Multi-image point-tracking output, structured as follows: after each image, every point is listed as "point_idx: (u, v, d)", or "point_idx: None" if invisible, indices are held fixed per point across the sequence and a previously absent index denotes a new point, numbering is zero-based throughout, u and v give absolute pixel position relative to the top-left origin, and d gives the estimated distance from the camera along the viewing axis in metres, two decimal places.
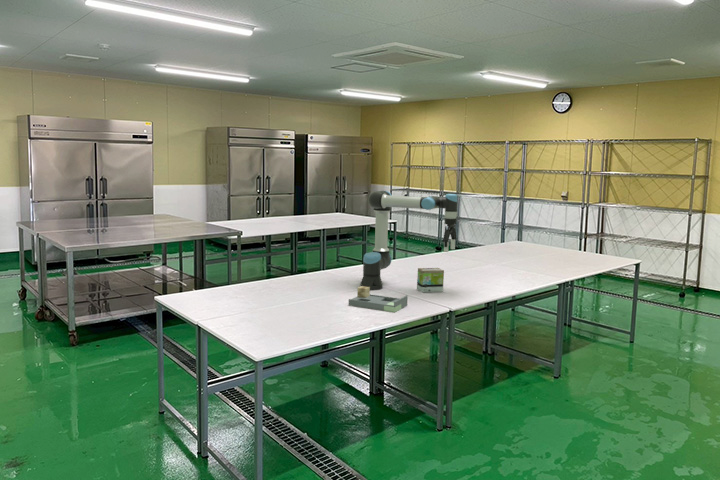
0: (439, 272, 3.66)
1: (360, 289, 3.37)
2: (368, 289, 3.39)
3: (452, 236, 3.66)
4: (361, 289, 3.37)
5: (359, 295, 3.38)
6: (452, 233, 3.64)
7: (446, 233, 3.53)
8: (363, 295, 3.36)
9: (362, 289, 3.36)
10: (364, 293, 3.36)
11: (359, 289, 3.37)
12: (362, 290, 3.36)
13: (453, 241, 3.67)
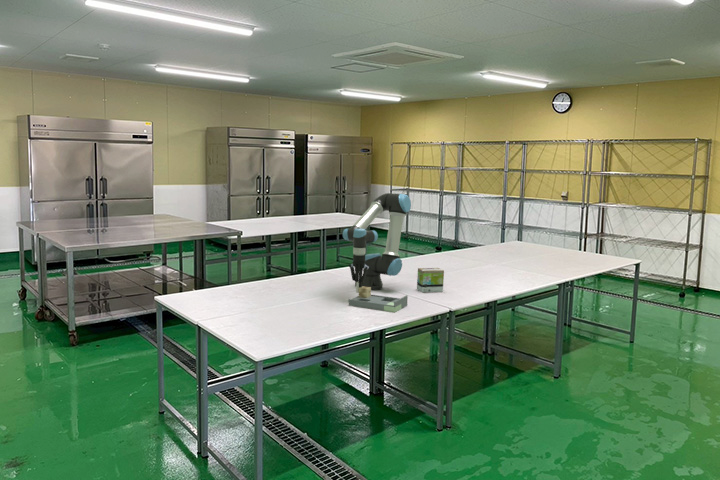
0: (439, 272, 3.66)
1: (361, 289, 3.36)
2: (369, 289, 3.38)
3: None
4: (362, 289, 3.36)
5: (360, 295, 3.37)
6: None
7: None
8: (364, 295, 3.36)
9: (363, 289, 3.36)
10: (365, 293, 3.35)
11: (360, 289, 3.37)
12: (363, 291, 3.36)
13: None
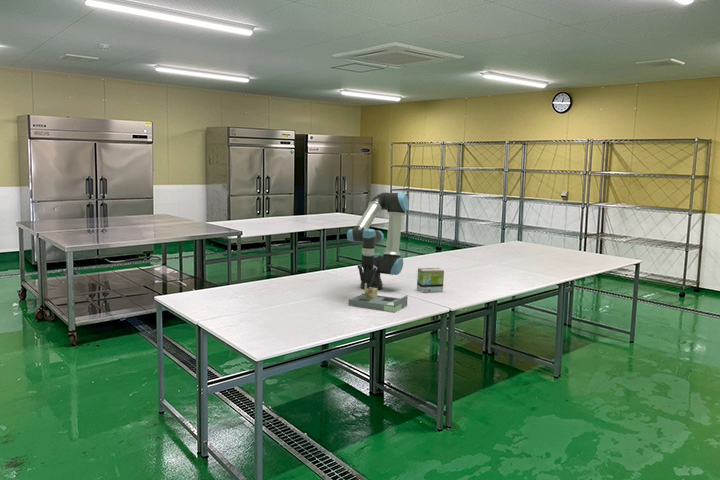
0: (439, 272, 3.66)
1: (368, 290, 3.34)
2: (376, 290, 3.36)
3: None
4: (369, 290, 3.34)
5: (367, 296, 3.35)
6: None
7: None
8: (371, 296, 3.34)
9: (370, 290, 3.34)
10: (372, 294, 3.33)
11: (367, 290, 3.35)
12: (370, 292, 3.34)
13: None
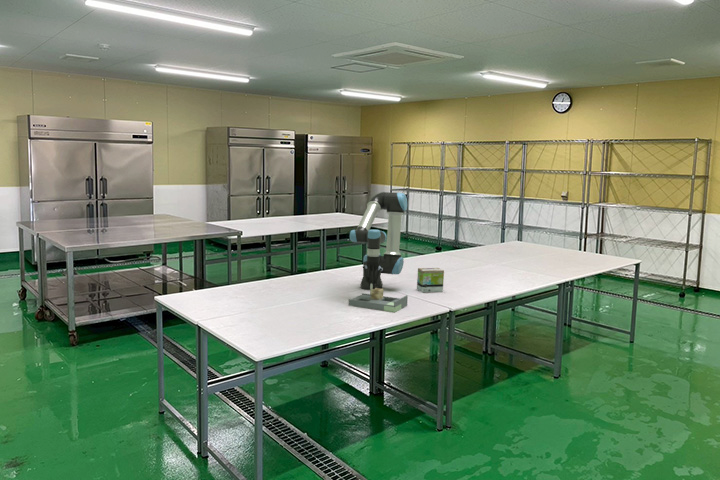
0: (439, 272, 3.66)
1: (374, 291, 3.33)
2: (382, 291, 3.34)
3: None
4: (375, 291, 3.32)
5: (373, 297, 3.33)
6: None
7: None
8: (377, 297, 3.32)
9: (376, 291, 3.32)
10: (378, 295, 3.32)
11: (373, 291, 3.33)
12: (376, 292, 3.32)
13: None
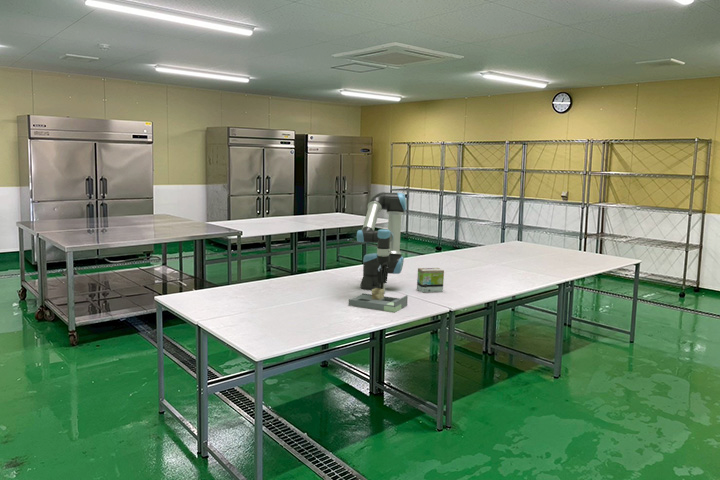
0: (439, 272, 3.66)
1: (374, 291, 3.33)
2: (382, 291, 3.34)
3: None
4: (375, 291, 3.32)
5: (373, 297, 3.33)
6: None
7: (379, 275, 3.33)
8: (377, 297, 3.32)
9: (376, 291, 3.32)
10: (378, 295, 3.32)
11: (373, 291, 3.33)
12: (376, 292, 3.32)
13: None
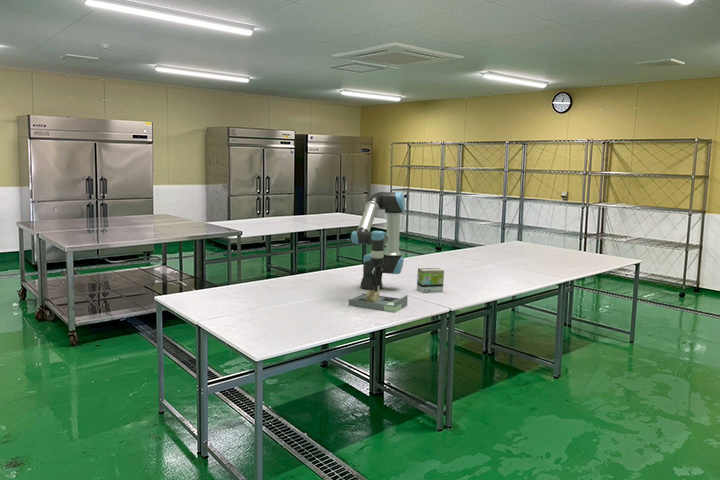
0: (439, 272, 3.66)
1: (369, 293, 3.26)
2: (377, 293, 3.28)
3: None
4: (370, 293, 3.26)
5: (368, 300, 3.27)
6: None
7: (374, 278, 3.25)
8: (372, 300, 3.26)
9: (371, 293, 3.26)
10: (373, 298, 3.25)
11: (368, 293, 3.27)
12: (371, 295, 3.26)
13: None
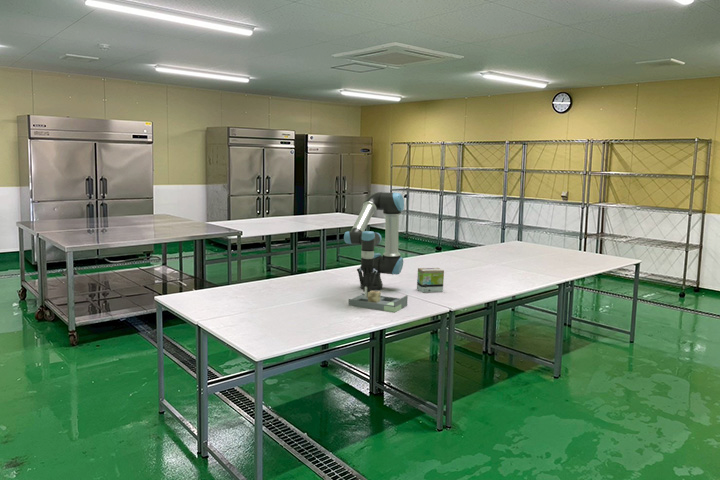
0: (439, 272, 3.66)
1: (371, 294, 3.26)
2: (379, 294, 3.27)
3: None
4: (372, 294, 3.25)
5: (370, 300, 3.26)
6: None
7: None
8: (374, 300, 3.25)
9: (373, 294, 3.25)
10: (375, 298, 3.25)
11: (370, 294, 3.26)
12: (373, 295, 3.25)
13: None
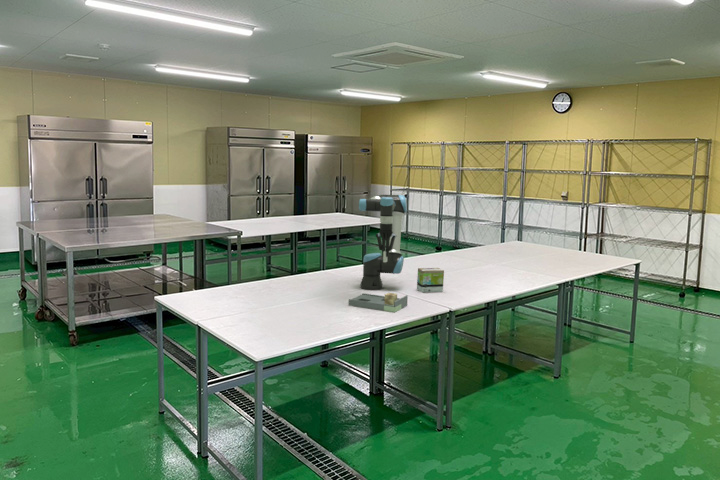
0: (439, 272, 3.66)
1: (387, 296, 3.21)
2: (396, 296, 3.23)
3: None
4: (388, 296, 3.21)
5: (386, 302, 3.22)
6: None
7: None
8: (390, 302, 3.20)
9: (389, 296, 3.20)
10: (392, 300, 3.20)
11: (386, 296, 3.21)
12: (390, 297, 3.20)
13: None
